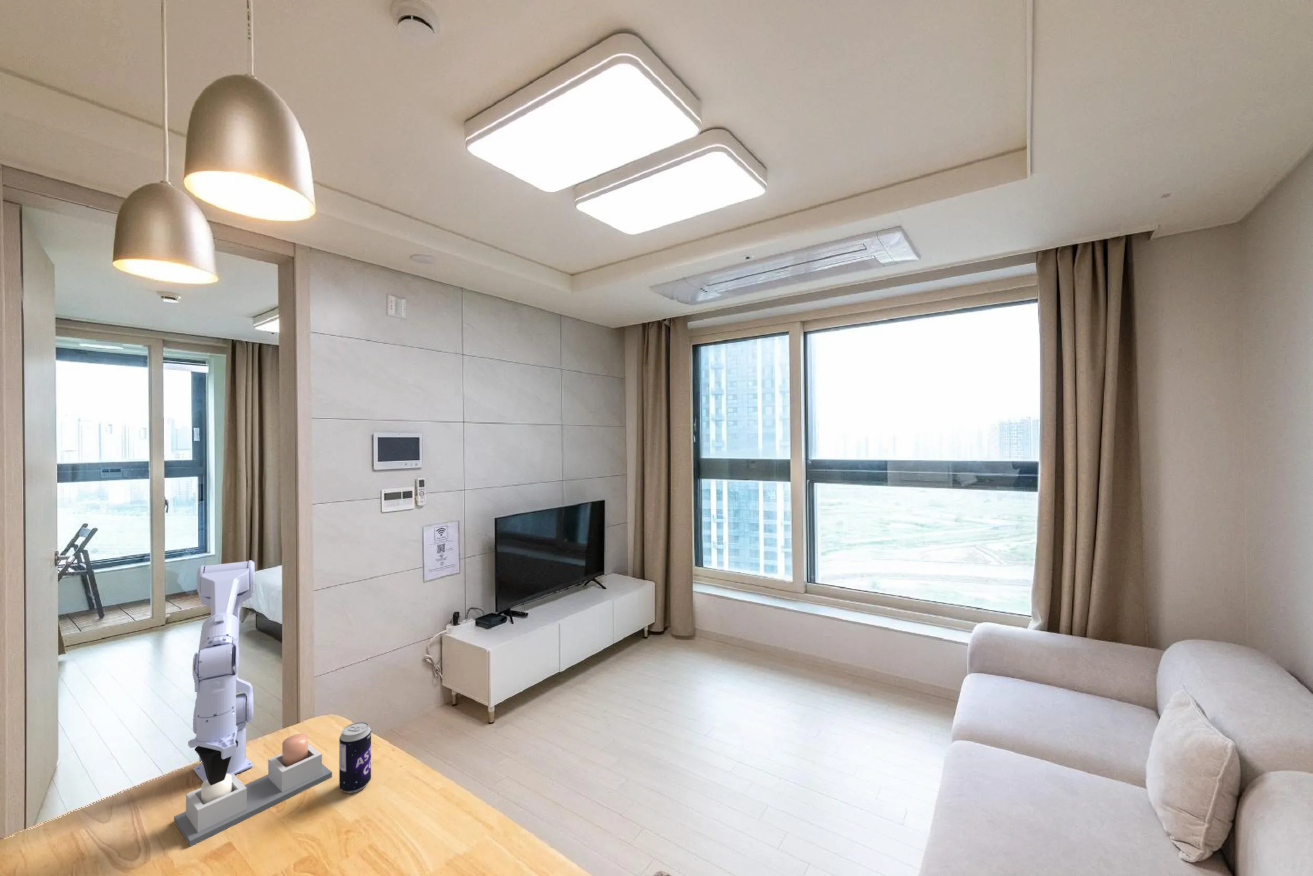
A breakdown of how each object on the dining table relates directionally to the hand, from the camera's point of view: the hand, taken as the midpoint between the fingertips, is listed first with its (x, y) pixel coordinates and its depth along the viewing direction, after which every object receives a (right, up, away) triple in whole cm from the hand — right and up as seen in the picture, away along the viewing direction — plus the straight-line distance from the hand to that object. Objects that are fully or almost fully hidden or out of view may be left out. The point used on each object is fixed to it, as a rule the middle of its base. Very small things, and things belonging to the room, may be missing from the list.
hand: (216, 781), depth 98 cm
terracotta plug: (+7, -3, +11) cm, 13 cm away
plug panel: (+4, -7, +5) cm, 9 cm away
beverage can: (+21, -7, +9) cm, 24 cm away
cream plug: (0, -4, 0) cm, 4 cm away
